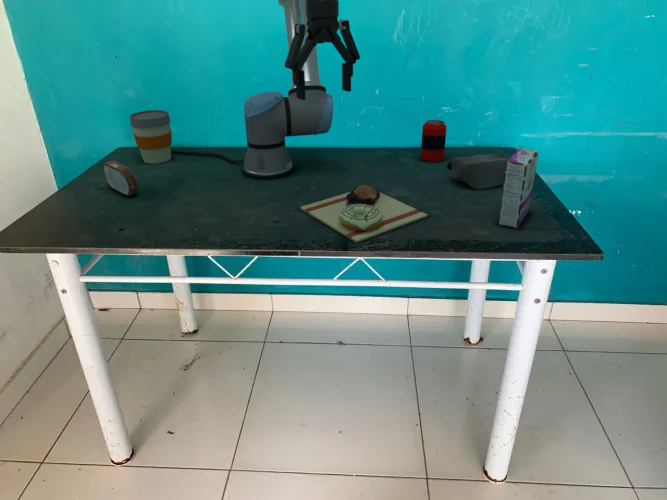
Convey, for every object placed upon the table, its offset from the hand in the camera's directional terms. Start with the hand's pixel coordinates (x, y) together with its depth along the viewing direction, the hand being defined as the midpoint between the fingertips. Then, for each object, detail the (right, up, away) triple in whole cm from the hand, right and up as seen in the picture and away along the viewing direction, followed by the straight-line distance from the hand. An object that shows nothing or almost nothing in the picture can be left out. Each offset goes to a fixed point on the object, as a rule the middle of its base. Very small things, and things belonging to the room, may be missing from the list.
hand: (324, 94), depth 128 cm
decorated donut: (+9, -32, +1) cm, 33 cm away
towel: (+10, -28, +8) cm, 31 cm away
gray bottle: (+45, -18, +26) cm, 55 cm away
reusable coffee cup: (-57, -8, +48) cm, 75 cm away
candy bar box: (+47, -30, +3) cm, 56 cm away
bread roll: (+10, -24, +14) cm, 30 cm away
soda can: (+35, -8, +44) cm, 57 cm away
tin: (-59, -21, +23) cm, 67 cm away
